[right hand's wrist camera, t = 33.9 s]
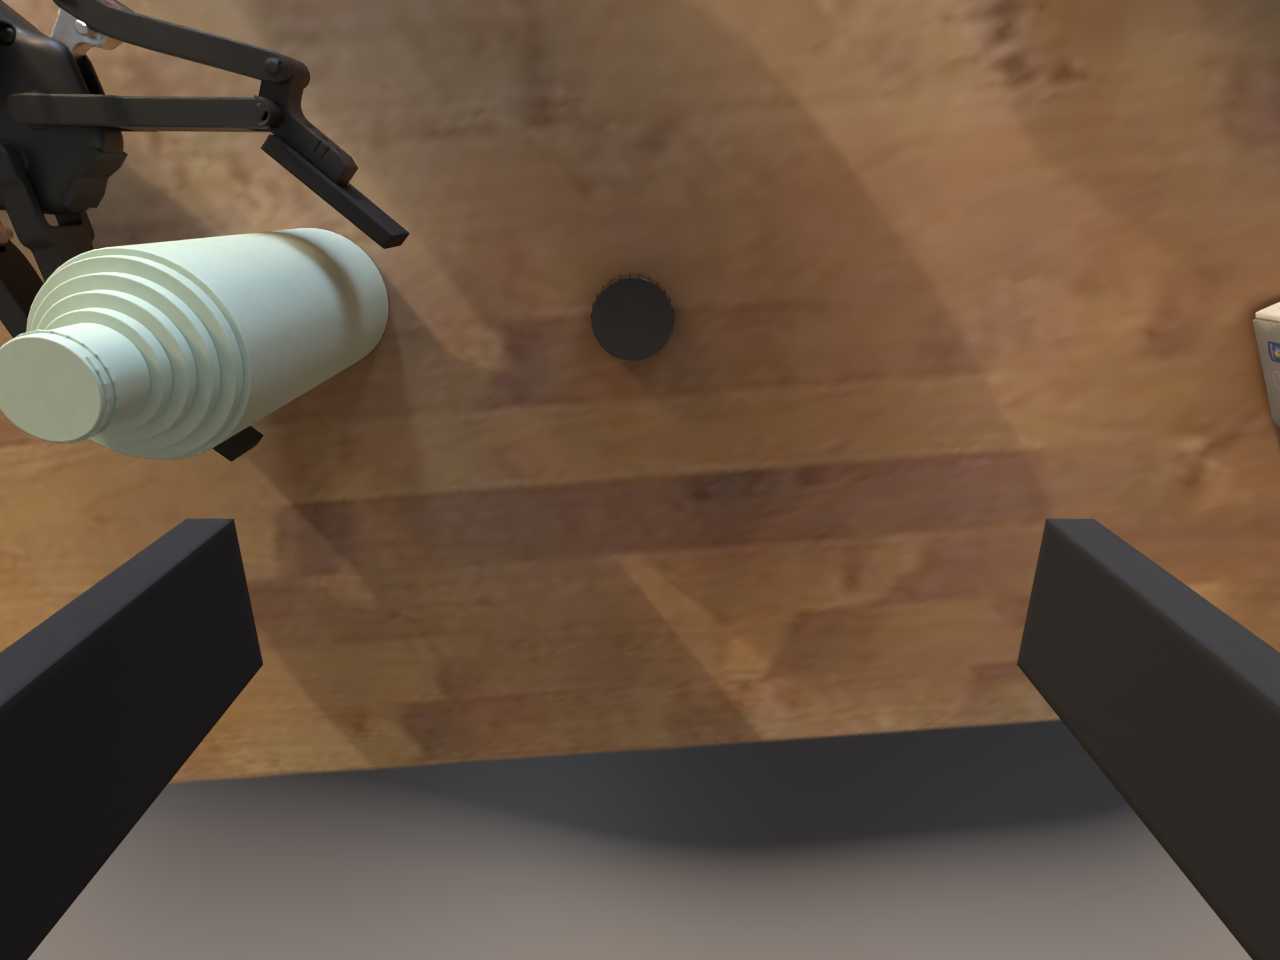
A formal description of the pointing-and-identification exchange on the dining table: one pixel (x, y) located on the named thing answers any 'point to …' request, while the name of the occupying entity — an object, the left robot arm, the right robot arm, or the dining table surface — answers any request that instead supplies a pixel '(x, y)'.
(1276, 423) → the hard drive box
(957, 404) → the dining table surface
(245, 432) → the left robot arm
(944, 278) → the dining table surface
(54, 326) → the bottle
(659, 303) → the cap
